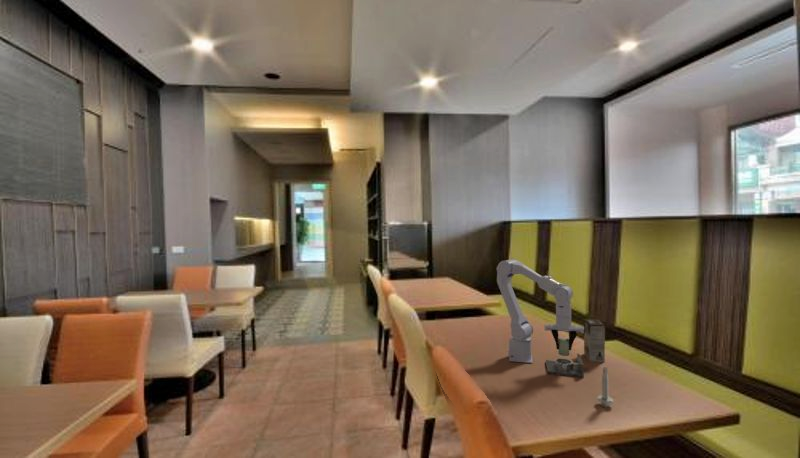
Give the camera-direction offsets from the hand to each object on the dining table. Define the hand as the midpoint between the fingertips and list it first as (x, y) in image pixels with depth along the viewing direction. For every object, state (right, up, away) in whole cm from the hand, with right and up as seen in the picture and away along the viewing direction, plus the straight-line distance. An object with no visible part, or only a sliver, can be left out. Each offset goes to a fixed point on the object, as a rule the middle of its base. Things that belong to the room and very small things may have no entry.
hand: (563, 348), depth 153 cm
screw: (+1, -10, -28) cm, 30 cm away
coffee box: (+19, -8, +12) cm, 24 cm away
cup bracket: (0, -9, 0) cm, 8 cm away
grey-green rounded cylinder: (0, -2, 0) cm, 2 cm away
